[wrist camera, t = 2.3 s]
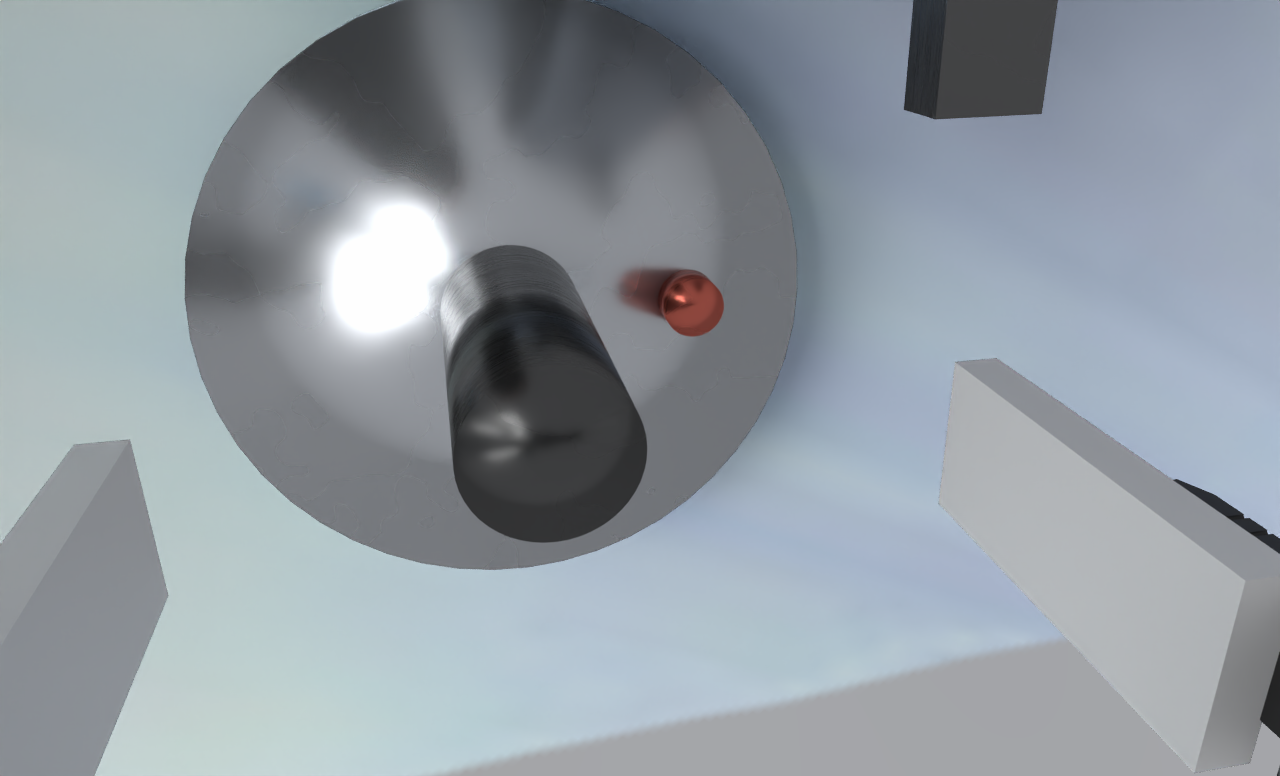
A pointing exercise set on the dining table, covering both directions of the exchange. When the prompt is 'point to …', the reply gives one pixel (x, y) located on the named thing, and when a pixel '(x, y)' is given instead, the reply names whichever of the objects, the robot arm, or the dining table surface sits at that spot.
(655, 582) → the dining table surface
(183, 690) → the dining table surface
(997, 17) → the pot
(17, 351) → the dining table surface
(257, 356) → the lid
